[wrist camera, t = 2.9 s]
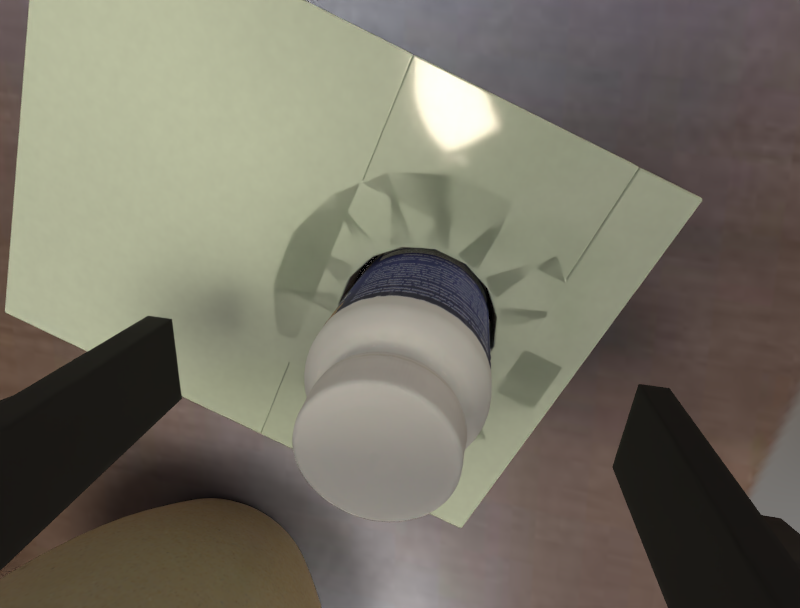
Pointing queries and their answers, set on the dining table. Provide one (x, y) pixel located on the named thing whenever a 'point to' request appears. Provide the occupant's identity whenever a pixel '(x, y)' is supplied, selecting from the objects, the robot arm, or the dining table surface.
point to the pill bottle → (396, 387)
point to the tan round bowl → (170, 563)
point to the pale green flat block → (306, 203)
